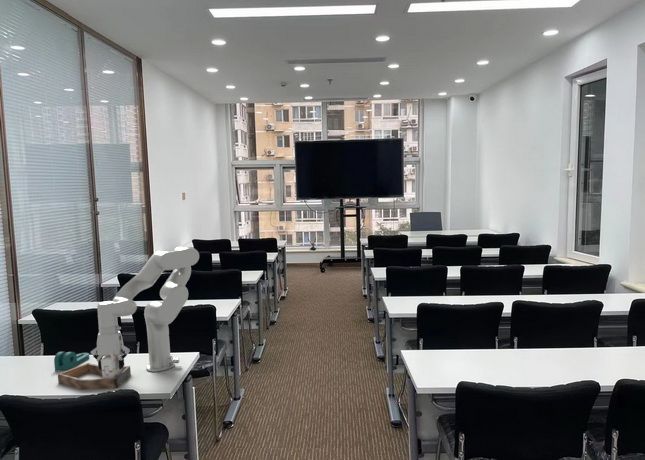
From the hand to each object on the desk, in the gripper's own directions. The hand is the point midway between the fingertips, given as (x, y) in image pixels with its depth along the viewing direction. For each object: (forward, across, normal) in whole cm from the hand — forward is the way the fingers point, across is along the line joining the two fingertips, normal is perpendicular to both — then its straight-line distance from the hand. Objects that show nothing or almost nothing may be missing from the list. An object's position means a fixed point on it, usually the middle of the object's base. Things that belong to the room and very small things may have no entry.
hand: (111, 368), depth 201 cm
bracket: (+6, +30, -25) cm, 40 cm away
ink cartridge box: (+6, 0, 0) cm, 6 cm away
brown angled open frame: (+6, +10, -3) cm, 12 cm away
